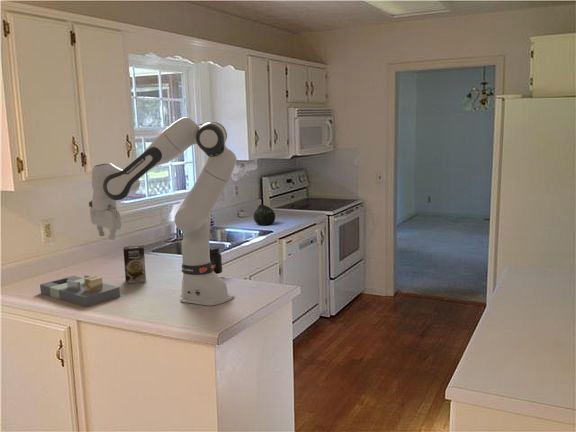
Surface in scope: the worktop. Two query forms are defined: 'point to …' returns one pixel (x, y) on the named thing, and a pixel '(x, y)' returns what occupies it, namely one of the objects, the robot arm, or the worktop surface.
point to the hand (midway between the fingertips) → (106, 237)
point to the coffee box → (134, 264)
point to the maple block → (93, 283)
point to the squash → (264, 215)
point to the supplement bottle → (216, 259)
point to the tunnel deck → (78, 291)
